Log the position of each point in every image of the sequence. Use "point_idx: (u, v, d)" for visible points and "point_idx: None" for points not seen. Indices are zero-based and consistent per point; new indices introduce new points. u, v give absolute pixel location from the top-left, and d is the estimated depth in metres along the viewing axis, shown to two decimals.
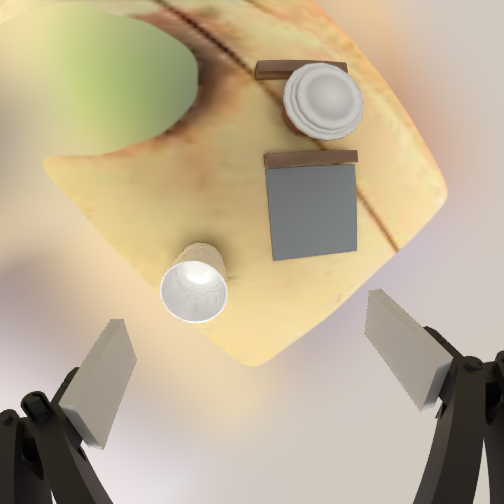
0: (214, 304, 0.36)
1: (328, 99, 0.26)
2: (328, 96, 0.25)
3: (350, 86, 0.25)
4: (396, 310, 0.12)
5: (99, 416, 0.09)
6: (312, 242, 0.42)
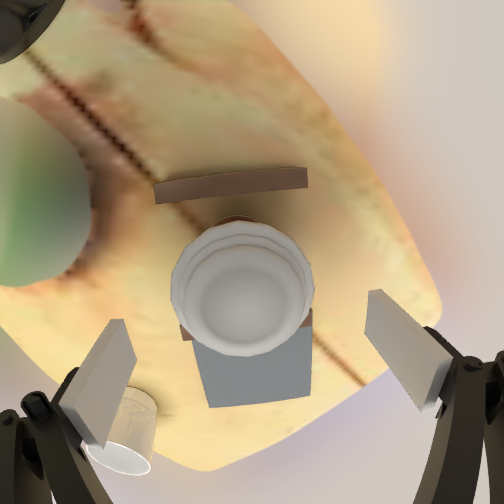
0: None
1: (239, 312, 0.16)
2: (240, 307, 0.16)
3: (285, 284, 0.16)
4: (396, 310, 0.12)
5: (99, 416, 0.09)
6: (254, 393, 0.33)
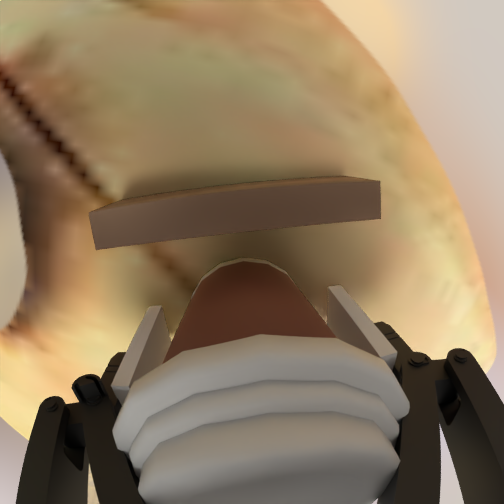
0: None
1: None
2: None
3: (369, 477, 0.05)
4: (350, 305, 0.13)
5: None
6: None
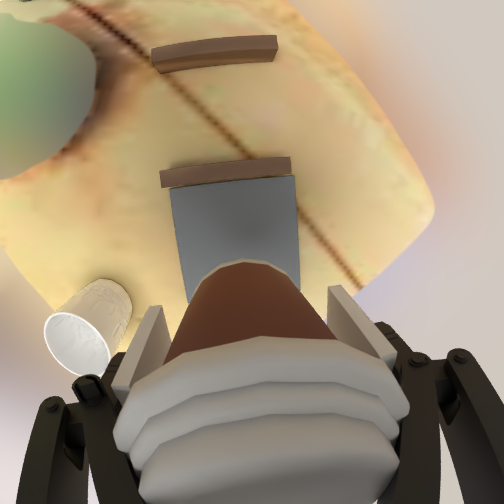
0: (108, 357, 0.26)
1: None
2: None
3: (369, 478, 0.05)
4: (350, 305, 0.13)
5: None
6: None
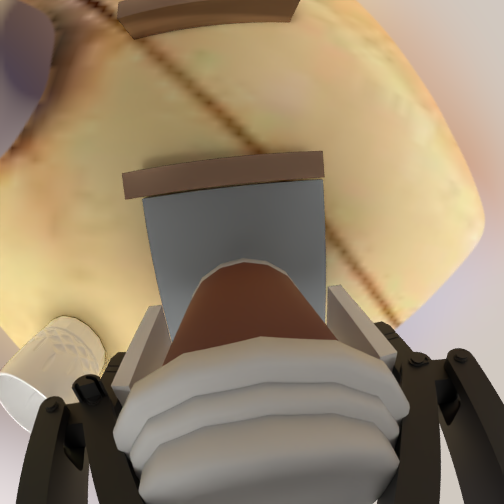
0: None
1: None
2: None
3: (369, 478, 0.05)
4: (350, 305, 0.13)
5: None
6: None
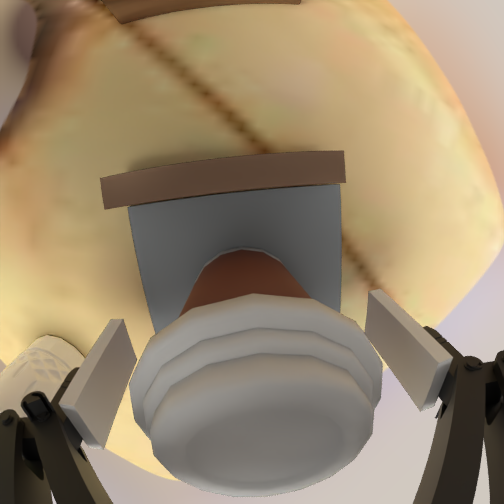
0: None
1: (257, 457, 0.07)
2: (259, 451, 0.07)
3: (346, 421, 0.07)
4: (396, 310, 0.12)
5: (99, 416, 0.09)
6: None
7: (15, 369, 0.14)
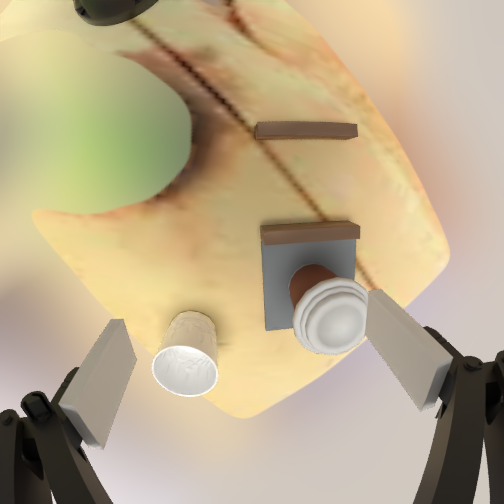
0: (205, 377, 0.34)
1: (337, 329, 0.28)
2: (338, 326, 0.28)
3: (362, 313, 0.27)
4: (396, 310, 0.12)
5: (99, 416, 0.09)
6: None
7: (185, 328, 0.34)
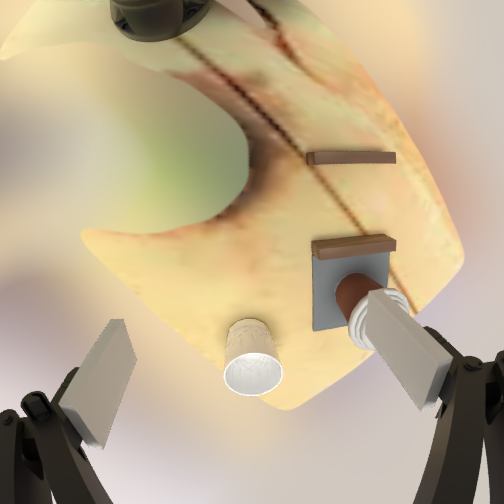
0: (267, 377, 0.39)
1: None
2: None
3: None
4: (396, 310, 0.12)
5: (99, 416, 0.09)
6: None
7: (250, 336, 0.39)
